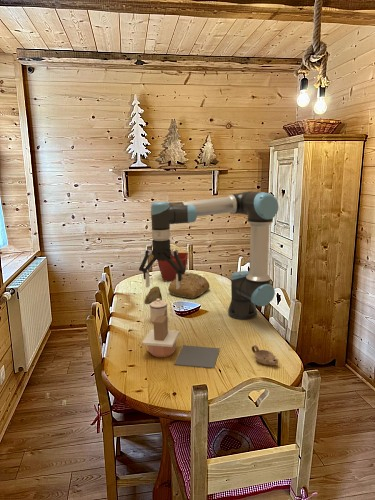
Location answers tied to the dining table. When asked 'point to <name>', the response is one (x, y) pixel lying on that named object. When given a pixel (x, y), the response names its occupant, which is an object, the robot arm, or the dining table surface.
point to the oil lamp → (264, 356)
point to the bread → (189, 286)
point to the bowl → (161, 350)
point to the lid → (161, 334)
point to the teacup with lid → (158, 309)
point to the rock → (153, 295)
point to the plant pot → (168, 270)
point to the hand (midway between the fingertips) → (162, 287)
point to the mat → (197, 356)
